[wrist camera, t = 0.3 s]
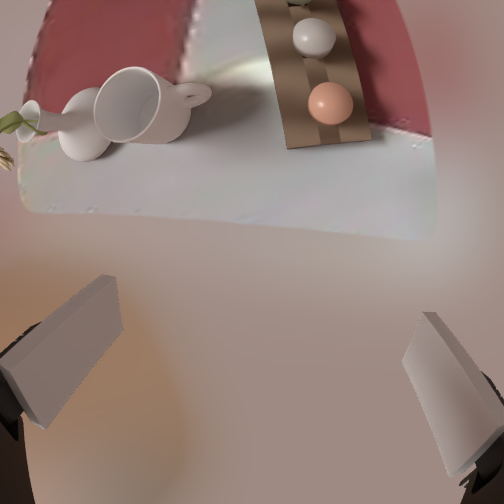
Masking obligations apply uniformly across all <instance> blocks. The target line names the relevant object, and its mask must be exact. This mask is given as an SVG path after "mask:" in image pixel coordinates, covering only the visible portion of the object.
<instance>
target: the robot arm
mask: <svg viewBox="0 0 504 504" xmlns="http://www.w3.org/2000/svg"><path fill="white" fill-rule="evenodd" d="M122 331H123V324H122V318H121V312H120V305H119V298H118V291H117V283H116V277H113V276H108V275H100V276H99V277H98V278H96V279H95V280H94V281H93V282H91V283H90V284H89V285H87V286H86V287H85V288H83V289H82V290H81V291H79V292H78V293H77V294H76V295H74V296H73V297H72V298H71V299H69V300H68V301H67V302H65V303H64V304H63V305H62V306H61V307H59V308H58V309H57V310H56V311H54V312H53V313H52V314H51V315H50V316H48V317H47V318H46V319H45V320H44V321H43V322H40V323H38V324H35V325H33V326H31V327H30V328H29V329H27V330H26V331H25V332H24V333H23V334H22V336H19V337H18V338H17V339H16V341H15V342H12V343H11V344H10V345H9V346H8V347H7V348H6V349H5V350H3V351H2V352H1V353H0V504H35V501H34V496H33V492H32V488H31V482H30V478H29V471H28V465H27V458H26V449H25V442H24V428H23V427H24V426H23V420H22V417H21V416H20V415H21V414H22V412H23V411H24V412H25V413H26V415H27V416H28V418H29V419H30V421H31V422H32V423H34V424H36V425H37V426H39V427H41V428H42V429H44V430H46V429H47V428H48V427H49V425H50V424H51V423H52V421H53V420H54V418H55V417H56V416H57V414H58V413H59V411H60V410H61V409H62V407H63V406H64V405H65V403H66V402H67V401H68V399H69V398H70V397H71V395H72V394H73V392H74V391H75V390H76V389H77V388H78V386H79V385H80V384H81V382H82V381H83V380H84V378H85V377H86V376H87V375H88V373H89V372H90V370H92V368H93V367H94V366H95V364H96V363H97V361H99V359H100V358H101V357H102V356H103V354H104V353H105V352H106V351H107V349H108V348H109V347H110V346H111V345H112V343H113V342H114V341H115V340H116V338H117V337H118V336H119V335H120V334H121V332H122ZM402 364H403V366H404V368H405V370H406V372H407V374H408V376H409V378H410V381H411V383H412V385H413V387H414V390H415V392H416V394H417V396H418V399H419V401H420V403H421V406H422V408H423V410H424V413H425V415H426V417H427V420H428V422H429V425H430V427H431V430H432V433H433V435H434V438H435V440H436V443H437V446H438V448H439V451H440V454H441V457H442V459H443V462H444V465H445V468H446V471H447V474H448V477H452V476H455V475H458V474H460V473H463V472H465V471H466V470H467V469H468V468H469V467H470V466H471V465H472V464H473V463H475V464H476V467H477V468H476V469H475V470H473V471H472V472H471V473H470V474H469V475H468V476H467V477H465V478H464V479H463V480H462V481H461V482H460V484H459V486H461V485H463V484H464V483H465V482H466V481H467V480H469V483H467V484H466V485H465V486H464V487H465V488H466V491H465V493H464V496H463V499H462V501H461V503H460V504H504V399H503V398H502V397H500V395H501V394H500V393H499V391H498V390H496V387H495V386H494V384H493V382H492V381H491V379H490V378H489V377H487V376H486V375H485V374H484V373H483V372H482V371H480V370H479V368H478V367H477V365H476V364H475V362H474V361H473V360H472V358H471V357H470V356H469V354H468V353H467V352H466V351H465V349H464V348H463V346H462V345H461V344H460V342H459V341H458V340H457V338H456V337H455V336H454V334H453V333H452V332H451V331H450V329H449V328H448V327H447V326H446V325H445V323H444V322H443V321H442V320H441V318H440V317H439V316H438V315H437V314H436V312H422V314H421V317H420V319H419V322H418V325H417V327H416V330H415V332H414V335H413V337H412V339H411V342H410V344H409V346H408V349H407V351H406V353H405V356H404V358H403V360H402Z"/></svg>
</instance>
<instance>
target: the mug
mask: <svg viewBox="0 0 504 504" xmlns="http://www.w3.org/2000/svg"><path fill="white" fill-rule="evenodd" d="M190 95H195V96H192V97H187V96H190ZM211 95H212V91H211V89H210V88H209V87H208V86H207V85H205V84H201V83H183V84H178V85H173V84H171V83H170V82H168V81H167V80H165V79H163V78H161V77H160V76H158V75H156V74H155V73H153V72H151V71H149V70H148V69H145V68H142V67H128V68H125V69H122V70H120V71H118V72H116V73H115V74H113V75H112V76H111V77H110V78H109V79H108V80H107V81H106V82H105V83H104V84H103V86H102V87H101V89H100V91H99V92H98V95H97V97H96V100H95V105H94V120H95V124H96V127H97V129H98V130H99V132H100V133H101V134H102V135H103V136H104V137H105V138H106V139H108V140H110V141H112V142H117V143H141V144H164V143H168V142H171V141H173V140H174V139H176V138H177V137H179V136H180V135H181V134H182V133H183V132H184V130H185V129H186V127H187V125H188V123H189V120H190V117H191V108H193V107H196V106H198V105H201V104H203V103H204V102H206V101H207V100H208V99H209V98H210V97H211Z"/></svg>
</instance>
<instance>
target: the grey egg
mask: <svg viewBox="0 0 504 504" xmlns="http://www.w3.org/2000/svg"><path fill="white" fill-rule="evenodd" d="M335 41H336V34H335V31H334V30H333V28H332V27H331V26H330V25H329V24H328V23H326V22H325V21H323V20H320V19H316V18H307V19H304V20H301V21H300V22H298V23H297V24H296V25H295V27H294V31H293V46H294V48H295V49H296V51H297V52H298V53H299V54H301V55H302V56H304V57H307V58H310V59H320V58H323V57H325V56H327V55H328V54H329V53H330V52H331V50H332V47H333V45H334V43H335Z"/></svg>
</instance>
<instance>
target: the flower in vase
mask: <svg viewBox="0 0 504 504" xmlns="http://www.w3.org/2000/svg"><path fill="white" fill-rule="evenodd" d="M100 89H101V88H100V87H91V88H88V89H85V90H82V91H80V92H79V93H77V94H76V95H75V96H74V97H73V98H72V99H71V100H70V101H69V102H68V104H67V105H66V107H65V108H64V110H63V112H62V114H56V113H50V112H47V111H45V110H43V109H41V107H40V106H39V104H38V102H36V101H35V100H30V101H28V102H26V103H25V104H24V105H23V107H22V108H21V110H20V112H19V113H18V112H17V111H13V112H11V113H9V114H7V115H6V116H4V117H3V118H1V119H0V133H1V132H4V133H7V134H10V133H12V132H14V131H15V130H16V133H17V137H18V139H19V140H20V141H21V142H22V143H27V142H29V141H30V140H32V139H33V138H34V136H35V135H37V134H39V135H42V136H43V135H46V134H47V133H48V132H45V131H58V133H59V140H60V144H61V146H62V149H63V150H64V152H65V153H66V154H67V155H68V156H69V157H70V158H72V159H74V160H76V161H79V162H89V161H92V160H94V159H96V158H97V157H99V156H100V155H101V154H102V153H103V152H104V151H105V150H106V149H107V147H108V146H109V144H110V143H111V141H110V140H108V139H106V138H105V137H104V136H103V135H102V134H101V133H100V132H99V130H98V129H97V127H96V124H95V120H94V105H95V100H96V97H97V95H98V92H99V91H100ZM0 166H2V167H3V168H4V169H6V170H8V171H11V169H10V168H9V167H8V166H15V165H14V160H13V158H11V157H10V155H9V154H8V153H7V152H5V151H4V149H3V148H1V147H0Z"/></svg>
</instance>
